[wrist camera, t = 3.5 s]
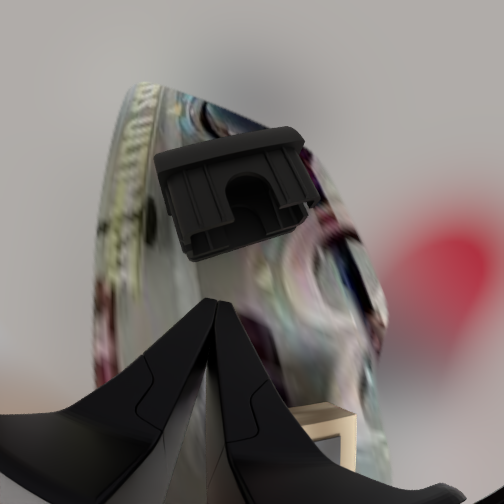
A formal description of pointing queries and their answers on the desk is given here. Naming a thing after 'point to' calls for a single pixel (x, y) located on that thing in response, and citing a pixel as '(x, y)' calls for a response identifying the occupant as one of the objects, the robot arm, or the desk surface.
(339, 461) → the beech block
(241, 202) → the end cap
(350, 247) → the desk surface
